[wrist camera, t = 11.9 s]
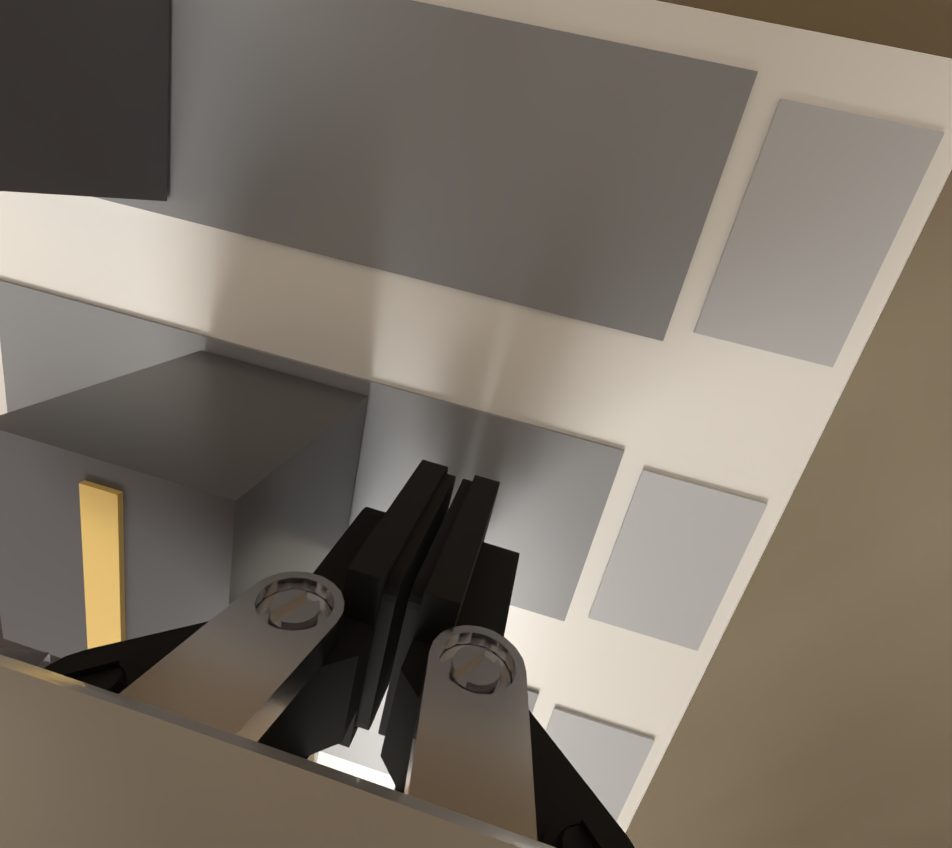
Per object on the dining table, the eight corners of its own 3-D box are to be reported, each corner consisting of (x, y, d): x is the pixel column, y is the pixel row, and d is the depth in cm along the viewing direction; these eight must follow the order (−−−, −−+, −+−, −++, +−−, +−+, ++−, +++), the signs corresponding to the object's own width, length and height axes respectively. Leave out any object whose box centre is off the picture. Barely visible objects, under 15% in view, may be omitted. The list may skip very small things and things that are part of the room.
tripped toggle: (368, 396, 12) (231, 504, 7) (344, 547, 14) (217, 717, 9) (200, 349, 12) (-32, 425, 8) (195, 501, 14) (-4, 643, 9)
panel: (953, 86, 10) (1562, -144, 4) (608, 822, 17) (622, 1149, 11) (-129, -132, 12) (-886, -514, 6) (-22, 610, 19) (-304, 789, 13)
